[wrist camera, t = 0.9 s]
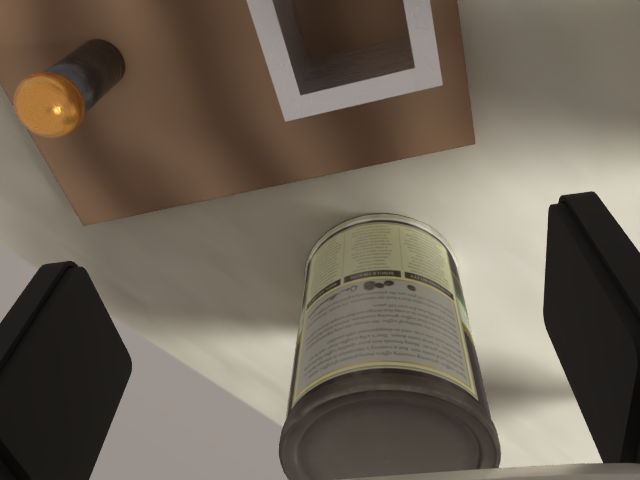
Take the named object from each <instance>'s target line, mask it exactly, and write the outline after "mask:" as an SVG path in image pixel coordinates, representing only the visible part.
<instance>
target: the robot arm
mask: <svg viewBox="0 0 640 480" xmlns="http://www.w3.org/2000/svg"><path fill="white" fill-rule="evenodd" d="M543 316H544V322H545V326H546V329H547V332H548V334H549V337H550V339H551V341H552V344H553V346H554V348H555V351H556V353H557V356H558V358H559V360H560V363H561V365H562V367H563V370H564V372H565V374H566V377H567V379H568V381H569V384H570V386H571V388H572V391H573V393H574V395H575V398H576V400H577V402H578V405H579V407H580V409H581V412H582V414H583V417H584V419H585V421H586V424H587V426H588V428H589V431H590V433H591V435H592V438H593V440H594V442H595V445H596V447H597V449H598V452H599V454H600V456H601V459H602V461H603V463H596V464H563V465H546V466H528V467H511V468H493V469H476V470H462V471H448V472H435V473H421V474H407V475H393V476H380V477H366V478H352V479H338V480H640V253H639V251H638V250H637V249H636V247H635V246H634V244H633V243H632V242H631V240H630V239H629V238H628V236H627V235H626V234H625V232H624V231H623V229H622V228H621V227H620V225H619V224H618V223H617V221H616V220H615V219H614V217H613V216H612V214H611V213H610V212H609V210H608V209H607V208H606V206H605V205H604V204H603V202H602V201H601V200H600V198H599V197H598V195H597V194H596V193H595V192H584V193H577V194H569V195H562V196H561V197H560V198H559V202H558V204H552V205H550V207H549V212H548V231H547V250H546V268H545V287H544V306H543ZM131 371H132V362H131V358H130V355H129V353H128V351H127V349H126V347H125V345H124V343H123V342H122V339H121V337H120V335H119V333H118V331H117V330H116V328H115V326H114V324H113V322H112V320H111V318H110V316H109V314H108V312H107V310H106V308H105V306H104V304H103V302H102V300H101V298H100V296H99V294H98V292H97V290H96V288H95V286H94V284H93V282H92V281H91V279H90V277H89V275H88V273H87V271H86V270H85V269H84V268H83V267H78V265H77V264H76V263H74V262H72V261H66V262H58V263H51V264H45V265H42V266H41V267H40V268H39V270H38V271H37V273H36V274H35V275H34V277H33V278H32V280H31V281H30V282H29V284H28V285H27V286H26V288H25V289H24V291H23V292H22V294H21V295H20V296H19V298H18V299H17V301H16V302H15V304H14V305H13V306H12V308H11V309H10V310H9V312H8V313H7V315H6V316H5V318H4V319H3V320H2V322H1V323H0V480H89V478H90V476H91V473H92V471H93V468H94V466H95V463H96V461H97V458H98V455H99V453H100V451H101V448H102V446H103V443H104V440H105V438H106V435H107V433H108V430H109V428H110V425H111V422H112V420H113V418H114V415H115V413H116V410H117V407H118V405H119V403H120V400H121V398H122V395H123V392H124V390H125V387H126V385H127V382H128V380H129V377H130V375H131Z"/></svg>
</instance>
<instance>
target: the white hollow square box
mask: <svg viewBox="0 0 640 480" xmlns="http://www.w3.org/2000/svg"><path fill="white" fill-rule="evenodd" d="M247 4H248V7H249V10H250V13H251V16H252V19H253V22H254V26H255V29H256V32H257V35H258V38H259V41H260V44H261V48H262V51H263V54H264V57H265V60H266V63H267V66H268V69H269V73H270V76H271V79H272V82H273V85H274V88H275V91H276V95H277V98H278V101H279V104H280V107H281V110H282V113H283V116H284V120H285V122H286V121H291V120H295V119H299V118H303V117H308V116H312V115H316V114H321V113H325V112H329V111H334V110H338V109H342V108H347V107H351V106H355V105H360V104H364V103H368V102H372V101H377V100H381V99H385V98H390V97H394V96H398V95H403V94H407V93H411V92H416V91H420V90H424V89H429V88H433V87H437V86H441V85H443V83H442V76H441V70H440V63H439V57H438V50H437V44H436V37H435V31H434V24H433V18H432V11H431V5H430V0H402V5H403V11H404V17H405V22H406V28H407V33H408V36H404V37H400V38H396V39H392V40H388V41H384V42H380V43H376V44H372V45H368V46H364V47H361V48H357V49H353V50H349V51H345V52H341V53H337V54H333V55H329V56H325V57H321V58H317V59H313V60H309V56H308V53H307V49H306V45H305V42H304V38H303V35H302V31H301V27H300V24H299V20H298V17H297V13H296V9H295V6H294V2H293V0H247Z"/></svg>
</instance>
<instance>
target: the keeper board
mask: <svg viewBox="0 0 640 480" xmlns="http://www.w3.org/2000/svg"><path fill="white" fill-rule="evenodd" d="M293 2H294V6H295V9H296V13H297V17H298V20H299V24H300V27H301V31H302V35H303V38H304V42H305V45H306V49H307V53H308V56H309V60H313V59H317V58H321V57H325V56H329V55H333V54H337V53H341V52H345V51H349V50H353V49H357V48H361V47H364V46H368V45H372V44H376V43H380V42H384V41H388V40H392V39H396V38H400V37H404V36H408V33H407V28H406V22H405V17H404V11H403V5H402V0H293ZM430 5H431V11H432V18H433V24H434V31H435V37H436V44H437V50H438V57H439V63H440V70H441V76H442V83H443V85H441V86H437V87H433V88H429V89H424V90H420V91H416V92H411V93H407V94H403V95H398V96H394V97H390V98H385V99H381V100H377V101H372V102H368V103H364V104H360V105H355V106H351V107H347V108H342V109H338V110H334V111H329V112H325V113H321V114H316V115H312V116H308V117H303V118H299V119H295V120H291V121H286V122H285V120H284V116H283V113H282V110H281V107H280V104H279V101H278V98H277V95H276V91H275V88H274V85H273V82H272V79H271V76H270V73H269V69H268V66H267V63H266V60H265V57H264V54H263V51H262V48H261V44H260V41H259V38H258V35H257V32H256V29H255V26H254V22H253V19H252V16H251V13H250V10H249V7H248V4H247V0H0V84H1V86H2V87H3V89H4V91H5V92H6V94H7V96H8V98H9V99H10V101H11V103H12V104H13V101H14V94H15V91H16V88H17V87H18V85H19V84H20V82H21V81H22V80H23V79H25V78H26V77H28V76H29V75H31V74H34V73H37V72H44V71H45V70H47V69H48V68H50V67H51V66H52V65H54V64H55V63H57V62H58V61H60V60H61V59H62V58H64V57H65V56H67V55H68V54H70V53H71V52H73V51H74V50H75V49H77V48H78V47H80V46H81V45H83V44H84V43H85V42H87V41H89V40H91V39H103V40H106V41H108V42H110V43H112V44H113V45H114V46H116V47H117V48H118V50H119V51H120V52H121V54H122V56H123V58H124V61H125V73H124V76H123V78H122V79H121V80H120V81H119V82H118V83H117V84H116V85H115V86H114V87H113V88H112V89H111V90H110V91H108V92H107V93H106V94H105V95H104V96H103V97H102V98H101V99H100V100H99V101H98V102H97V103H96V104H95V105H94V106H93V107H92V108H91V109H90V110H88V111H87V112H86V113H85V114H84V117H83V120H82V122H81V124H80V125H79V126H78V128H77V129H76V130H74V131H73V132H72V133H70V134H68V135H66V136H63V137H58V138H46V137H42V136H39V135H37V134H34V133H33V132H31V131H29V130H28V129H27V130H28V132H29V133H30V135H31V137H32V139H33V140H34V142H35V144H36V145H37V147H38V149H39V151H40V152H41V154H42V156H43V157H44V159H45V161H46V163H47V164H48V166H49V168H50V169H51V171H52V173H53V175H54V176H55V178H56V180H57V181H58V183H59V185H60V187H61V188H62V190H63V192H64V193H65V195H66V197H67V198H68V200H69V202H70V204H71V205H72V207H73V209H74V210H75V212H76V214H77V216H78V217H79V219H80V221H81V222H82V224H83V226H85V225H90V224H95V223H100V222H105V221H109V220H114V219H119V218H124V217H128V216H133V215H138V214H143V213H148V212H152V211H157V210H162V209H167V208H171V207H176V206H181V205H186V204H191V203H195V202H200V201H205V200H210V199H214V198H219V197H224V196H229V195H234V194H238V193H243V192H248V191H253V190H257V189H262V188H267V187H272V186H277V185H281V184H286V183H291V182H296V181H300V180H305V179H310V178H315V177H320V176H324V175H329V174H334V173H339V172H343V171H348V170H353V169H358V168H363V167H367V166H372V165H377V164H382V163H386V162H391V161H396V160H401V159H406V158H410V157H415V156H420V155H425V154H429V153H434V152H439V151H444V150H449V149H453V148H458V147H463V146H468V145H472V144H475V136H474V129H473V121H472V113H471V105H470V98H469V90H468V82H467V75H466V67H465V59H464V52H463V44H462V36H461V28H460V21H459V13H458V5H457V0H430ZM13 106H14V104H13Z"/></svg>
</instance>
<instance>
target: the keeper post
mask: <svg viewBox="0 0 640 480" xmlns="http://www.w3.org/2000/svg"><path fill="white" fill-rule="evenodd" d="M124 73H125V61H124V58H123V56H122V54H121V52H120V51H119V50H118V48H117V47H116V46H114V45H113V44H112V43H110V42H108V41H106V40H103V39H91V40H89V41H87V42H85V43H84V44H83V45H81V46H80V47H78V48H77V49H75V50H74V51H73V52H71V53H70V54H68V55H67V56H65V57H64V58H62V59H61V60H60V61H58V62H57V63H55V64H54V65H52V66H51V67H50V68H48V69H47V70H45V71H44V72H37V73H34V74H31V75H29V76H28V77H26V78H25V79H23V80H22V81H21V82H20V84H19V85H18V87H17V88H16V91H15V94H14V101H13V104H14V110H15V113H16V115H17V117H18V119H19V121H20V122H21V123H22V124H23V125H24V126H25V127H26V128H27V129H28V130H29V131H31V132H33V133H34V134H37V135H39V136H42V137H46V138H58V137H63V136H66V135H68V134H70V133H72V132H73V131H74V130H76V129H77V128H78V126H79V125H80V124H81V122H82V120H83V117H84V114H85V113H86V112H87V111H88V110H90V109H91V108H92V107H93V106H94V105H95V104H96V103H97V102H98V101H99V100H100V99H101V98H102V97H103V96H104V95H105V94H106V93H107V92H108V91H110V90H111V89H112V88H113V87H114V86H115V85H116V84H117V83H118V82H119V81H120V80H121V79H122V78H123V76H124Z"/></svg>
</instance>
